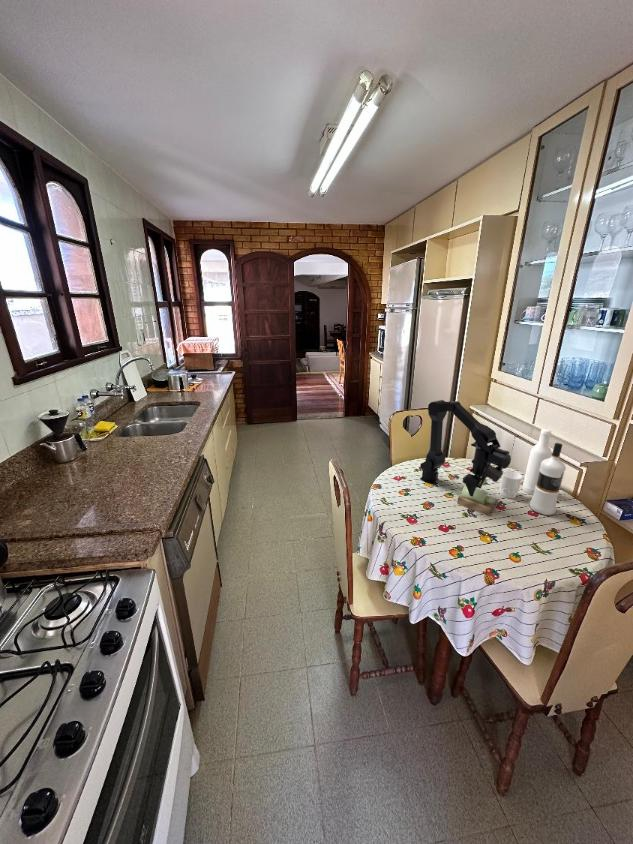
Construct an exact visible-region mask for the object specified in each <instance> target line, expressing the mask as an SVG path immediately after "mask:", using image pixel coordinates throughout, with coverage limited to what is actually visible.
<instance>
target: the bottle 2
mask: <svg viewBox="0 0 633 844" xmlns="http://www.w3.org/2000/svg"><path fill="white" fill-rule="evenodd" d="M539 434H540V435H539V439H538V443H537V444H535V445H534V446H533V447H531V449H530V453H529V457H528V462H527V466H526V470H525V475H524V479H523V483H522V487H521V489H522V491H523V492H524V493H527V494H528V495H531V496H533V495H534V492H535V486H536V484H537V480H538V476H539V472H540V470H539V469H540V465H541V462H542V461H543V460H545V459H548V458H551V456H552V453H553V452H552V449H551V447H549V443H550V438H551V435H552V430H551V429H548V428H542V429H541V430H540V433H539Z"/></svg>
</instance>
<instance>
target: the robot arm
mask: <svg viewBox="0 0 633 844" xmlns="http://www.w3.org/2000/svg"><path fill="white" fill-rule="evenodd" d="M448 412H451V413H452V414H453V416H455V418H457V419H458V420H459V421H460V422H461V423H462V424H463V425H464V426H465V428H467V429H468V430H469V432H470V433H471V437H472V438H473V440H474V442H472V443H471V444H470V445H471V447H474V448H475V450H474V455H473V456H474V457H473V459H472V460H471V464H472V465H471V466H472V467H471V468H470V470H469V472H470V473H467V474H466V475H464V476H463V478H462V483H464V484H465V485H466V487H467V489H468V492H469V495H470V496H472V497H473V495H474V492H475V490H476V488H477V489H482V486H483V485H484V483H485V481H486V479H487V478H489V479H490V480H491V481H492V482H494V483H498V482H499V480H501V477H502V475H503V469H507V468H508V467H509V466H510V464H511V460H512V456H511V455H510V451H508V450H505V449H501V444H500V442H499V440H498V437H497V433H496V431H495V430H494V429H493V428H491V427H489V426H488V425H486V424H483V423H481V422H480V421H478V419H476V418H475V417H474V415H472V414H471V413H470V412H469V411H468V410H467V409H466V408H465V407H464V406H463V405H462V404H461V402H460V401H458V400H456V401H445V400H443V399H439V400H435V401H431V402H429V404H428V405H427V413H428V416H429V417H430V420H431V427H430V441H429V442H430V443H429V447H430V448H429V450H428V452H427V454H426V455H425V457H426V458H425V461H424V462H421V463H420V469H422V473H421V477H420V478H419V480H420V481H423V482H425V483H428V484H432V485H433V484H435V483H436V482H437V481H438V480H439V473H440V472H439V469H440V468H442V466H443V465H445V463H446V457H447V455H446V453H444V452H443V450H442V442H443V441H442V440H443V428H444V427H443V426H444V425H443V423H444V419H445V417H446V416H447V413H448ZM491 464H492V465H491ZM493 465H494V466H493ZM471 473H472V474H471Z"/></svg>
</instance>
